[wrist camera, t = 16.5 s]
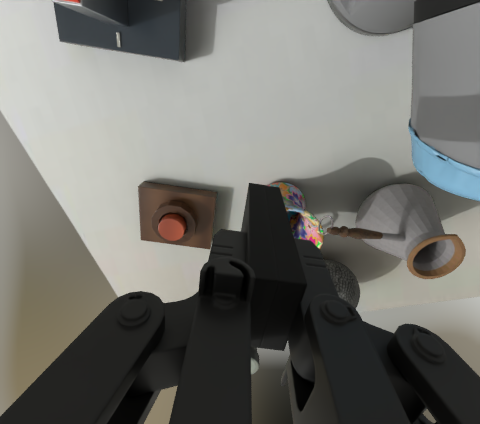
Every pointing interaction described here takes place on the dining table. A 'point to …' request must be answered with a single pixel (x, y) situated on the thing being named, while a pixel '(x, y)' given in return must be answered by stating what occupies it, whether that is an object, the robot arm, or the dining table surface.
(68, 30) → the panel
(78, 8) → the tap handle
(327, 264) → the decorative ball
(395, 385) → the robot arm
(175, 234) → the button
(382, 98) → the dining table surface
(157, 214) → the button block
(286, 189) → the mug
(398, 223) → the coffee pot
